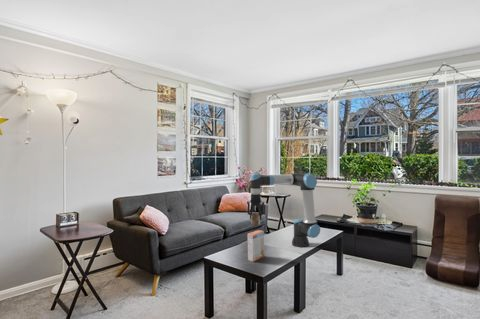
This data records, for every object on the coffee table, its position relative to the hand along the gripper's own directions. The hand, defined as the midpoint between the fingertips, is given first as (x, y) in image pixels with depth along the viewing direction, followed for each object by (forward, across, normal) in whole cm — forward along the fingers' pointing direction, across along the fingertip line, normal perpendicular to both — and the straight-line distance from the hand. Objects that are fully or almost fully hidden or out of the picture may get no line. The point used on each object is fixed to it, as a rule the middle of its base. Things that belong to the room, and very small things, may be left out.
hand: (255, 223), depth 227 cm
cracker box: (+28, 0, 0) cm, 28 cm away
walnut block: (+1, 0, 0) cm, 1 cm away
